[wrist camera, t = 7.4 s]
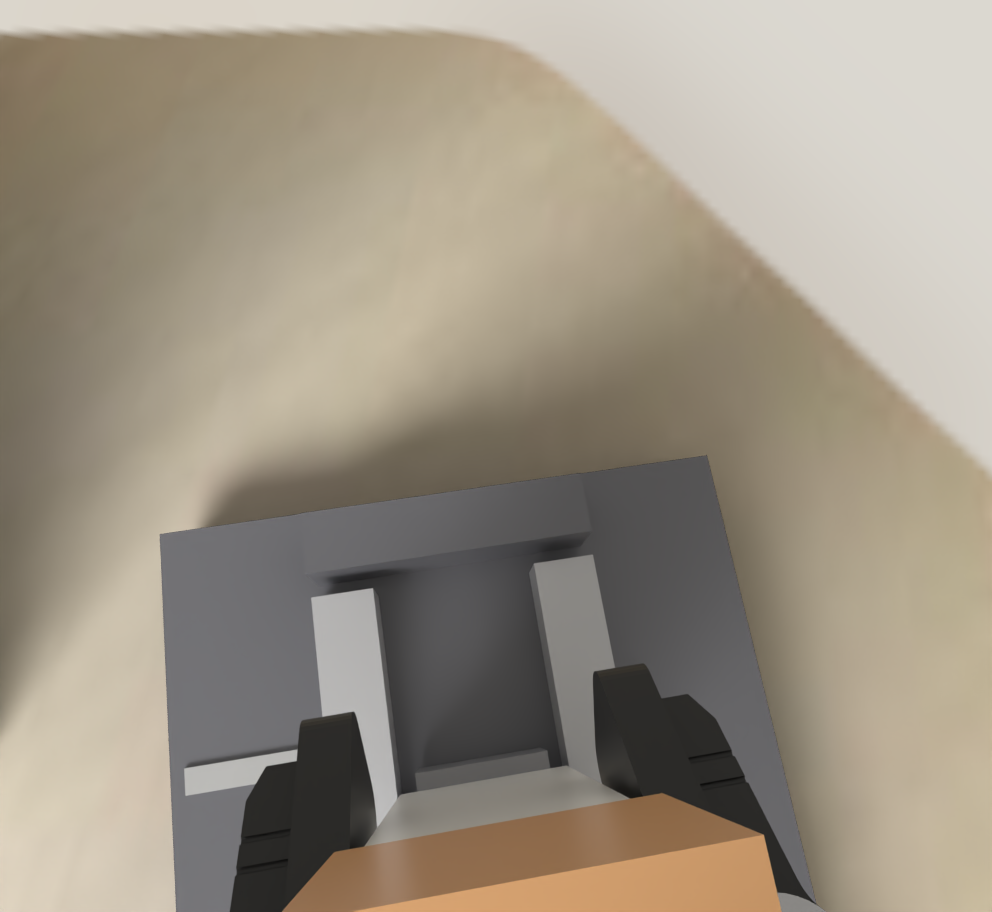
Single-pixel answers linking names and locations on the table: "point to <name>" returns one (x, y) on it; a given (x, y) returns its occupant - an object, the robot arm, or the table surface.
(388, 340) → the table surface
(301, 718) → the grey rail track base
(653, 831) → the fader
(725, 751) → the robot arm
